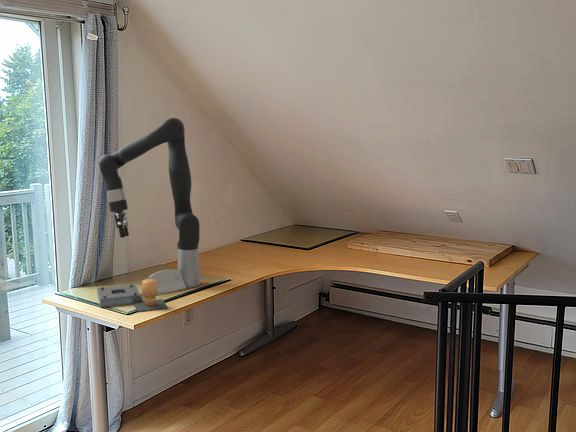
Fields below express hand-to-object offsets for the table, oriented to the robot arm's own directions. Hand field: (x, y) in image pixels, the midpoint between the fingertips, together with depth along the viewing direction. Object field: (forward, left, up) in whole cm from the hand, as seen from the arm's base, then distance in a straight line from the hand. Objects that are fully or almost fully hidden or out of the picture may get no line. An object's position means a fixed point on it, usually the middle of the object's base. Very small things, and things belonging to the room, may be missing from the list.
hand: (124, 236), depth 264 cm
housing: (+5, +13, -24) cm, 28 cm away
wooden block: (-6, +26, -23) cm, 36 cm away
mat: (-6, +26, -24) cm, 36 cm away
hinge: (-16, +7, -24) cm, 30 cm away
